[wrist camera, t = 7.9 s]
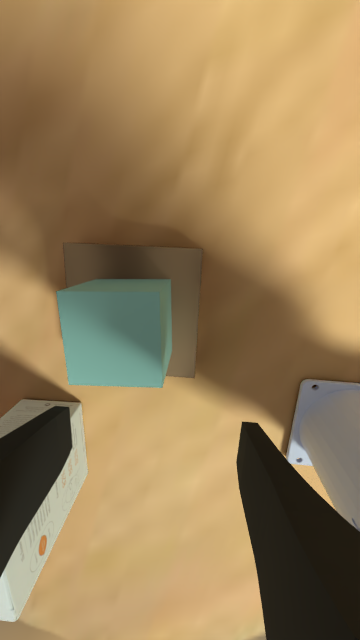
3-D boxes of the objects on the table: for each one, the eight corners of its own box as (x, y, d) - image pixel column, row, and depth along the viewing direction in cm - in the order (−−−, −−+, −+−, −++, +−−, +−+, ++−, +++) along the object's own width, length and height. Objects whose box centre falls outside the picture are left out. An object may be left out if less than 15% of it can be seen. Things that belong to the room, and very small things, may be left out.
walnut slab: (202, 248, 19) (202, 249, 16) (194, 360, 22) (194, 378, 19) (82, 243, 20) (62, 242, 17) (89, 353, 22) (72, 369, 19)
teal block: (170, 279, 17) (159, 291, 12) (172, 350, 18) (162, 387, 13) (96, 279, 17) (56, 291, 12) (102, 349, 19) (68, 384, 14)
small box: (22, 396, 23) (-114, 512, 13) (83, 400, 23) (-8, 523, 13) (34, 468, 25) (-75, 615, 15) (89, 473, 25) (15, 626, 15)
